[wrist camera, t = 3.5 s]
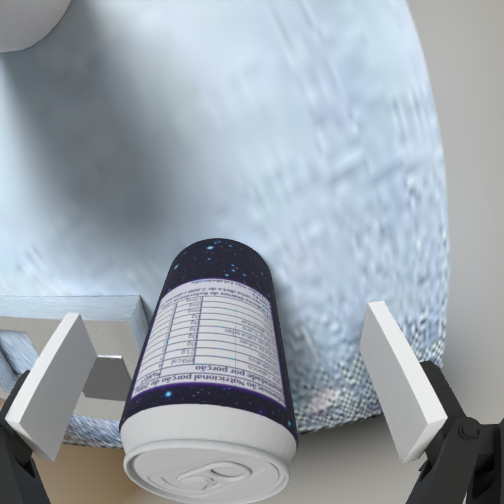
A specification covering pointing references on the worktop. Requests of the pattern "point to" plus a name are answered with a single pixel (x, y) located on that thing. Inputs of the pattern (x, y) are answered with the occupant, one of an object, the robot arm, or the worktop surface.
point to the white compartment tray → (101, 335)
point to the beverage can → (212, 384)
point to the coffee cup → (28, 21)
